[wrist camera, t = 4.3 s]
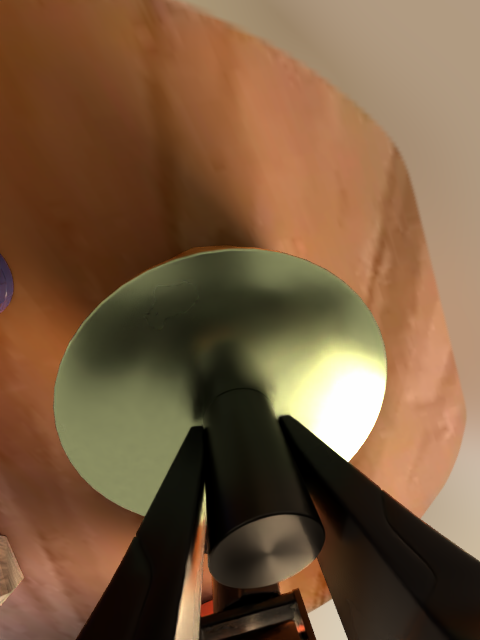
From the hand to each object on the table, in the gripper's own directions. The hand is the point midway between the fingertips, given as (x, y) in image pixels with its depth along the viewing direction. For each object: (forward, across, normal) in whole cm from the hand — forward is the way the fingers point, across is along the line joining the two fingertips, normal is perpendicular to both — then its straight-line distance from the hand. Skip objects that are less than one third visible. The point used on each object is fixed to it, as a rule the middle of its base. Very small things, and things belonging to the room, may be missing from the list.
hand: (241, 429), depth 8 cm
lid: (+1, 0, 0) cm, 1 cm away
